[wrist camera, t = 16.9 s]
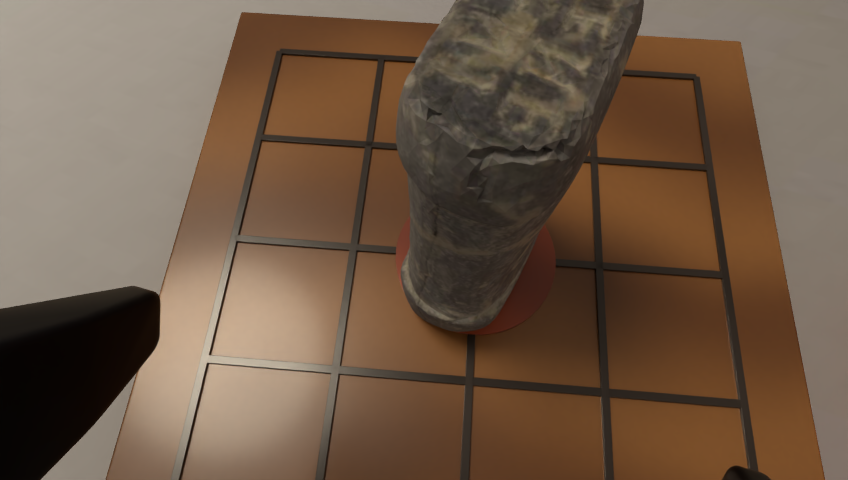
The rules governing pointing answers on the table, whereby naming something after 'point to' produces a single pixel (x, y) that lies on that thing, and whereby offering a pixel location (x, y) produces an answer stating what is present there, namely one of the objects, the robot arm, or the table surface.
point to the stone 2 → (500, 140)
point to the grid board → (519, 317)
